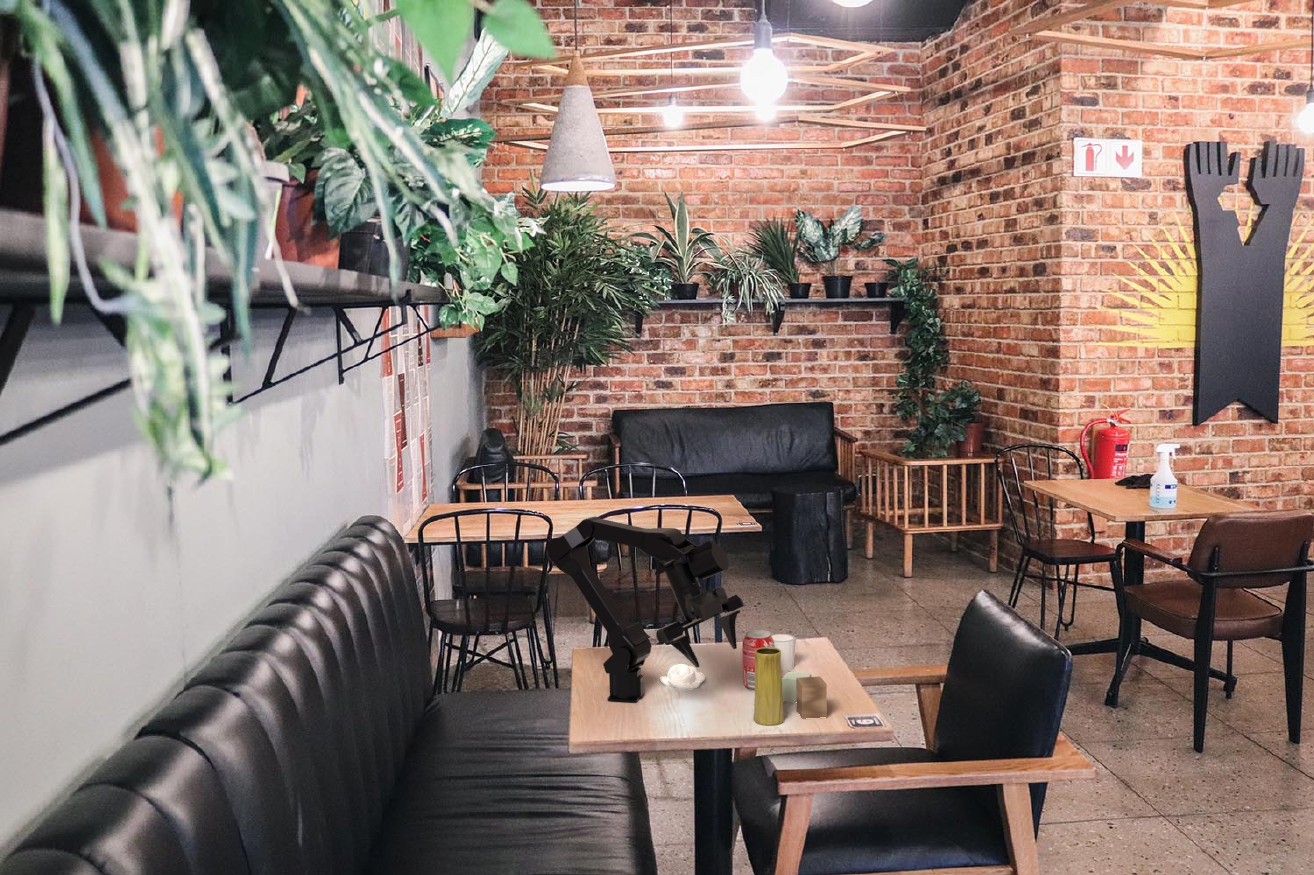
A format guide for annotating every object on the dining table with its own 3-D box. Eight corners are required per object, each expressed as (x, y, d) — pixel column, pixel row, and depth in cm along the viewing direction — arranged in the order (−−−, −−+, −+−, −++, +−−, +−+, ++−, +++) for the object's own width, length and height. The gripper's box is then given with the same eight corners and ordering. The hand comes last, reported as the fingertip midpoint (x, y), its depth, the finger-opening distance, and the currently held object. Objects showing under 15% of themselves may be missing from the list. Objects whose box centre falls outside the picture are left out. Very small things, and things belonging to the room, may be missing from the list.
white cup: (761, 665, 250) (760, 636, 250) (786, 661, 253) (786, 632, 252) (776, 673, 244) (776, 643, 243) (802, 668, 247) (801, 639, 246)
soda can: (775, 681, 238) (774, 629, 237) (775, 692, 231) (774, 638, 230) (743, 681, 239) (742, 628, 238) (742, 692, 232) (741, 637, 231)
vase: (759, 727, 211) (759, 656, 209) (749, 716, 216) (748, 647, 215) (788, 723, 212) (788, 653, 211) (777, 713, 218) (776, 645, 217)
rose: (699, 657, 244) (709, 669, 234) (699, 676, 244) (709, 689, 235) (656, 660, 242) (664, 673, 232) (656, 679, 242) (665, 693, 233)
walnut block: (802, 719, 214) (802, 685, 214) (796, 711, 219) (796, 677, 219) (826, 718, 215) (826, 684, 214) (820, 709, 220) (820, 676, 219)
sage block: (782, 701, 226) (781, 678, 225) (789, 693, 230) (788, 671, 230) (805, 704, 224) (804, 680, 223) (811, 696, 228) (811, 673, 228)
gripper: (661, 599, 209) (693, 673, 207) (739, 564, 217) (771, 635, 215) (642, 606, 219) (672, 677, 217) (717, 572, 227) (747, 641, 225)
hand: (716, 657), depth 219 cm, fingers open, 9 cm apart
